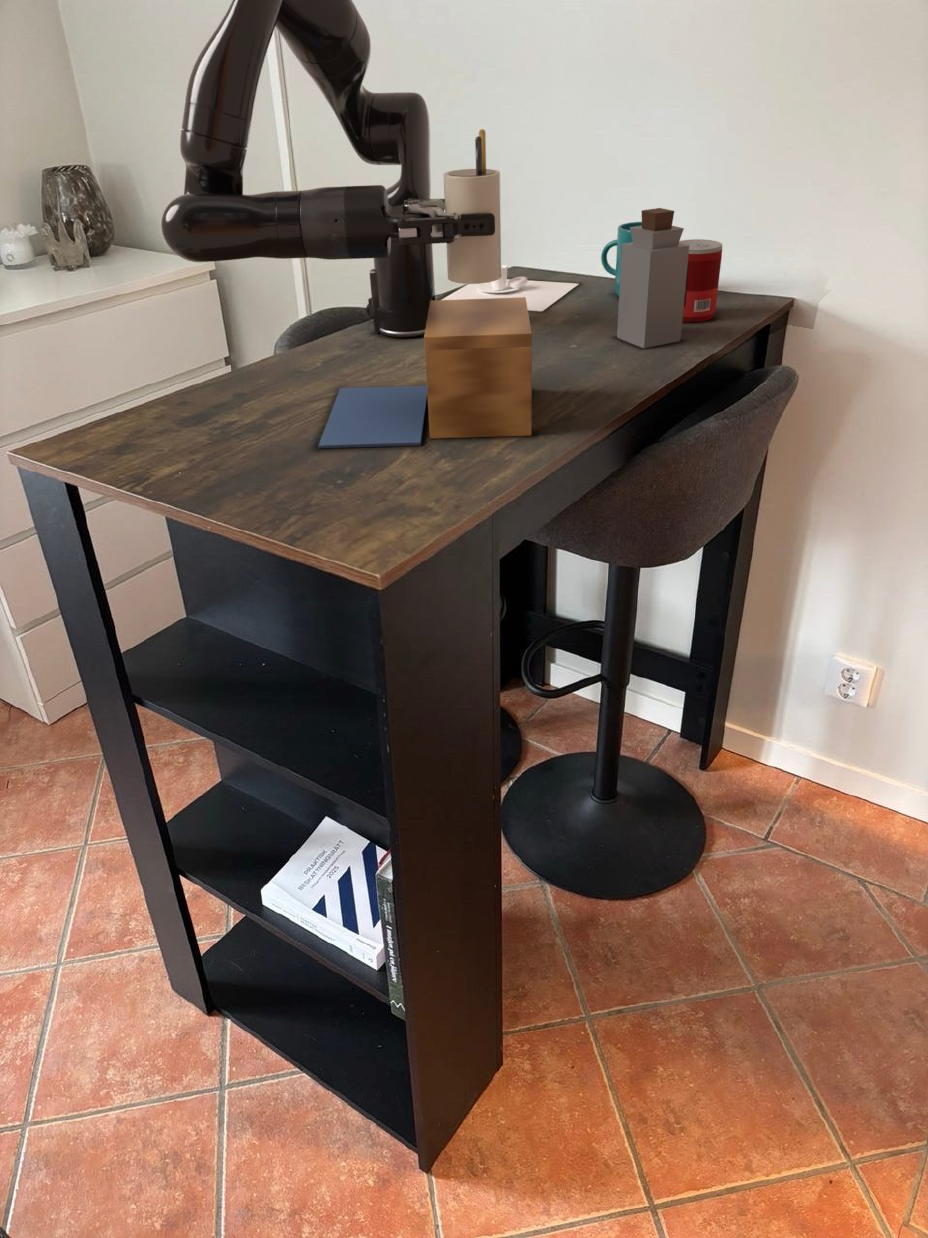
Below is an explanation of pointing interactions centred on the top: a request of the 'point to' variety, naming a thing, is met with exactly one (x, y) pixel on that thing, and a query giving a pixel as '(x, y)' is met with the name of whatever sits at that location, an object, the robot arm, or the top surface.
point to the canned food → (701, 279)
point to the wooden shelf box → (479, 368)
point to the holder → (474, 195)
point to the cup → (618, 251)
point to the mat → (376, 417)
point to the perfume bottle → (652, 281)
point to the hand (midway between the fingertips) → (494, 217)
